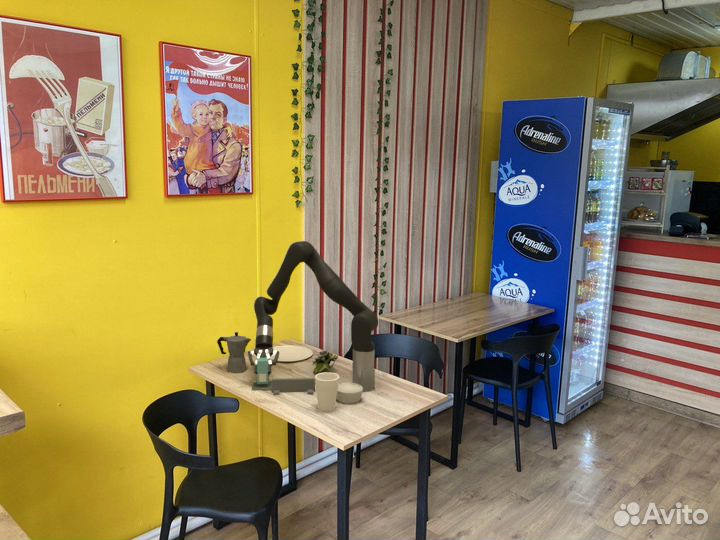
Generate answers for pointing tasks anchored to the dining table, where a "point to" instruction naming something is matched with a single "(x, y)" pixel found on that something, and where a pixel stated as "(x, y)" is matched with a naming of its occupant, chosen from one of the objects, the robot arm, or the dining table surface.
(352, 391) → the ramekin
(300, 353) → the plate
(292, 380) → the screen
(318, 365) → the passion flower
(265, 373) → the block
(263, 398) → the dining table surface
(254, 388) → the mat
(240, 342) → the coffeepot
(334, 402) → the foam cup
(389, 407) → the dining table surface
